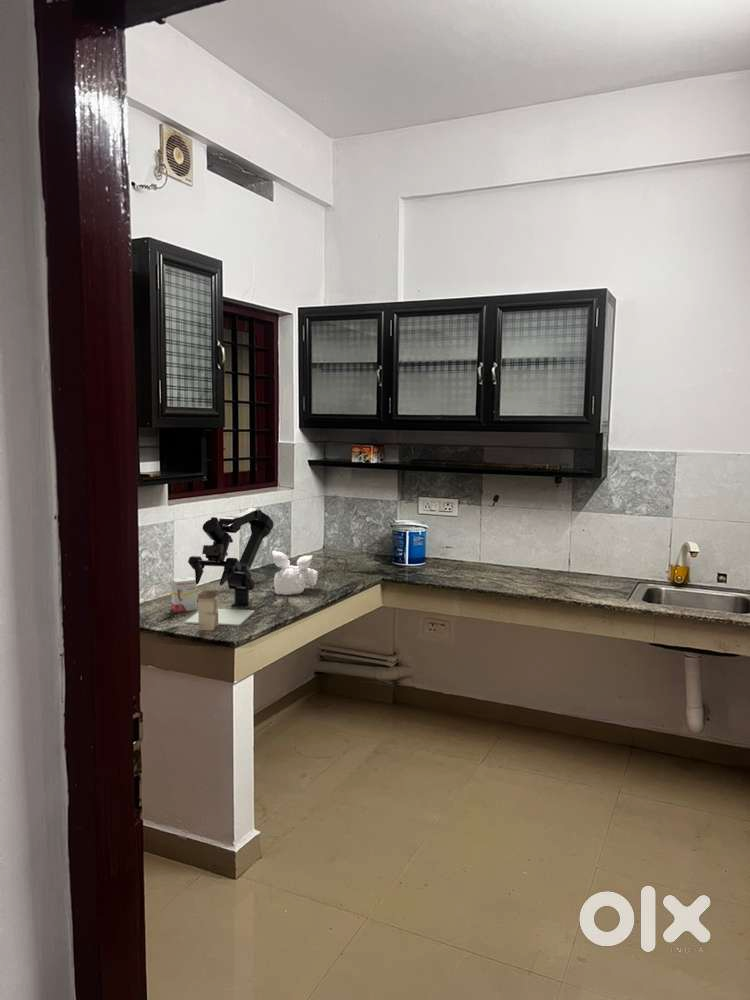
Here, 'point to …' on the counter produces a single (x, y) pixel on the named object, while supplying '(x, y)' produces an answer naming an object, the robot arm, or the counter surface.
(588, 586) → the counter surface
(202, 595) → the birch block
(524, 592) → the counter surface
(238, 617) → the sage mat
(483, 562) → the counter surface
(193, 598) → the ink box
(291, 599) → the counter surface
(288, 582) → the white tied bag bundle
